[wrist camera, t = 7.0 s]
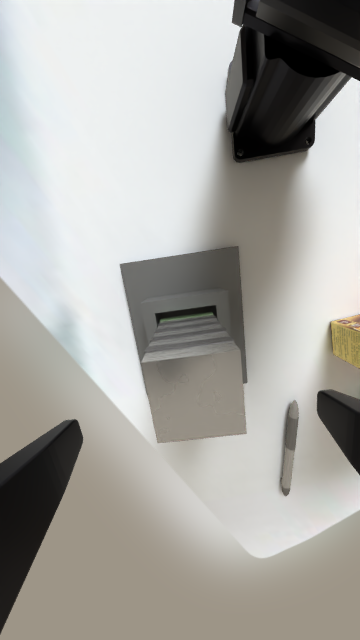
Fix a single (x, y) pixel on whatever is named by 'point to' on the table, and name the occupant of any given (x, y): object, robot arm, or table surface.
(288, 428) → the pen
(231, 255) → the stand base
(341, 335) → the candy box
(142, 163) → the table surface
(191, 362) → the column
